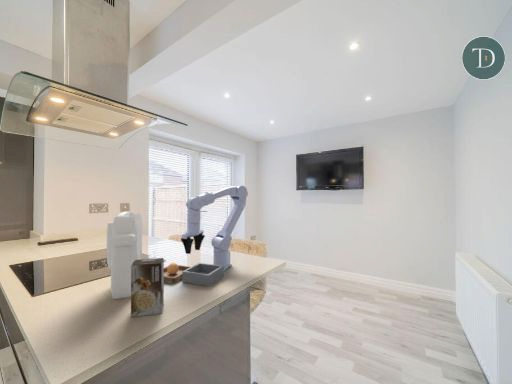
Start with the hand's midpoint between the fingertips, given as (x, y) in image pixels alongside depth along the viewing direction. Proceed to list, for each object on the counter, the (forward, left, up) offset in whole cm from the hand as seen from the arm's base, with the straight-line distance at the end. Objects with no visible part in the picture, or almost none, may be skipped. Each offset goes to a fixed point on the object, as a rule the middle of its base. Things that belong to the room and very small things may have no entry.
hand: (192, 251), depth 107 cm
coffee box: (+34, +6, -11) cm, 36 cm away
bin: (+4, +8, -10) cm, 14 cm away
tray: (+6, -7, -10) cm, 14 cm away
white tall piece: (+24, -16, -11) cm, 30 cm away
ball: (+6, -7, -7) cm, 11 cm away
